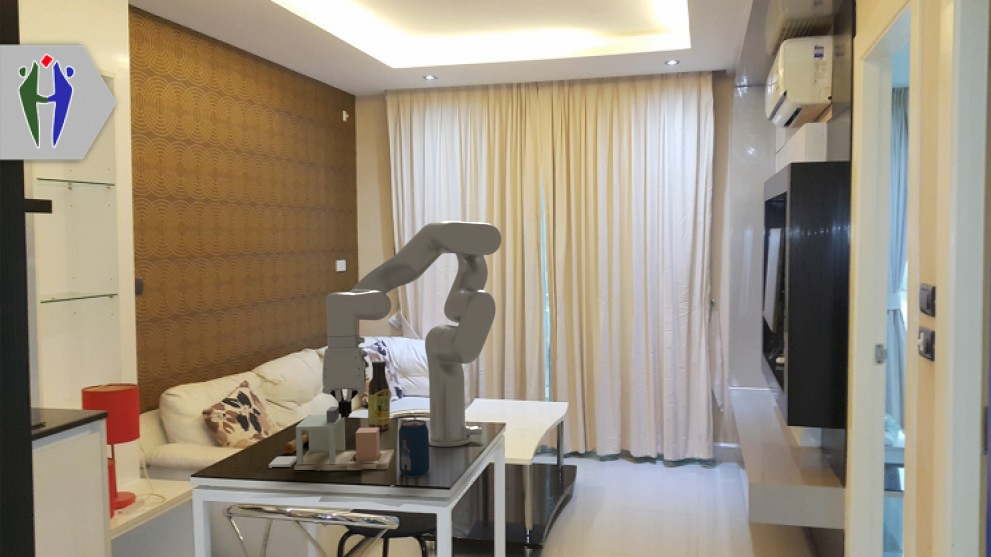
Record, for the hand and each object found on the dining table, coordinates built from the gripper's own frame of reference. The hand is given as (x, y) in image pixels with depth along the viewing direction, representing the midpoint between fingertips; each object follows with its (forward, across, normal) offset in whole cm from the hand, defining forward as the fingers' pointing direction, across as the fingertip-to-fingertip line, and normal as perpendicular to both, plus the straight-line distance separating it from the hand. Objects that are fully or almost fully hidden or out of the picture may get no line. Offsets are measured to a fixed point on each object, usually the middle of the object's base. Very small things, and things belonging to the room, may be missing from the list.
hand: (345, 416), depth 185 cm
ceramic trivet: (+11, +16, 0) cm, 19 cm away
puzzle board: (+11, 0, 0) cm, 11 cm away
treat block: (+11, -5, 0) cm, 13 cm away
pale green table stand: (+10, +6, 0) cm, 11 cm away
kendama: (+12, +14, -17) cm, 25 cm away
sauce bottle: (+12, -3, -34) cm, 36 cm away
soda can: (+12, -18, +11) cm, 24 cm away
